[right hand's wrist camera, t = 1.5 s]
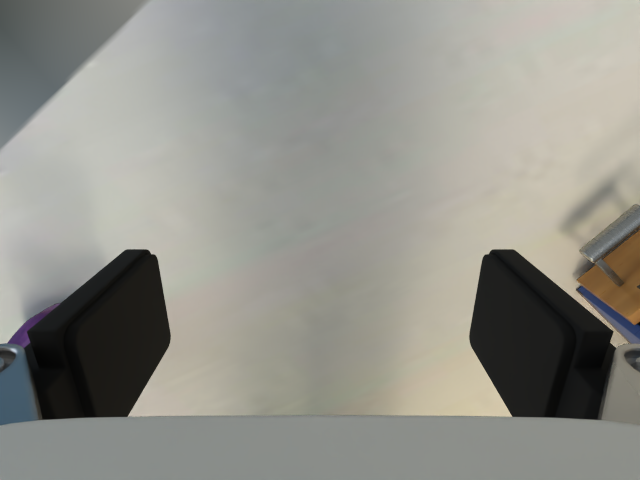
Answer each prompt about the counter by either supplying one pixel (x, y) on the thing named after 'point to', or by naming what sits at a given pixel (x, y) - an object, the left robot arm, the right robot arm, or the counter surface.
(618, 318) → the cabinet
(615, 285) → the drawer
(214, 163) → the counter surface
